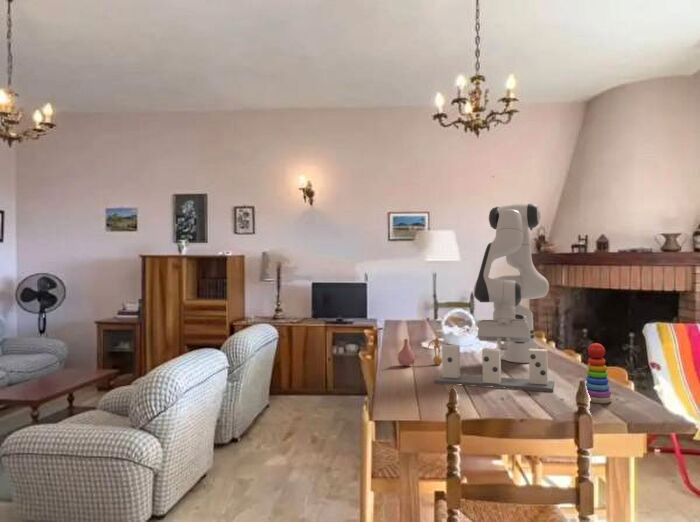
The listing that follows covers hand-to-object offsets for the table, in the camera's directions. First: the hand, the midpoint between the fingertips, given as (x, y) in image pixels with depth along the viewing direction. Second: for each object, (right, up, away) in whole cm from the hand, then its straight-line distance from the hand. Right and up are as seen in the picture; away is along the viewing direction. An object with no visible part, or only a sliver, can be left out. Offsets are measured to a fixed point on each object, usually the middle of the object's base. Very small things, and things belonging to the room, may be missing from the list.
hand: (503, 349), depth 200 cm
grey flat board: (-6, -12, -8) cm, 15 cm away
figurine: (-21, -12, +31) cm, 39 cm away
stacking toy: (+20, -11, -34) cm, 41 cm away
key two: (-7, -10, -11) cm, 17 cm away
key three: (+9, -10, -14) cm, 19 cm away
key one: (-20, -11, -1) cm, 23 cm away
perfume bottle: (-35, -13, +28) cm, 47 cm away
